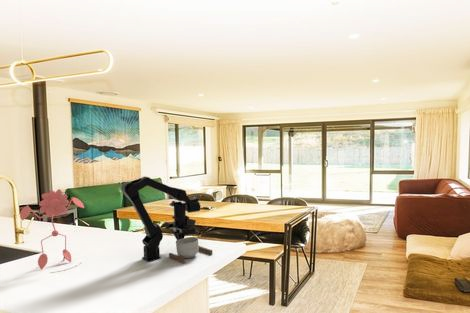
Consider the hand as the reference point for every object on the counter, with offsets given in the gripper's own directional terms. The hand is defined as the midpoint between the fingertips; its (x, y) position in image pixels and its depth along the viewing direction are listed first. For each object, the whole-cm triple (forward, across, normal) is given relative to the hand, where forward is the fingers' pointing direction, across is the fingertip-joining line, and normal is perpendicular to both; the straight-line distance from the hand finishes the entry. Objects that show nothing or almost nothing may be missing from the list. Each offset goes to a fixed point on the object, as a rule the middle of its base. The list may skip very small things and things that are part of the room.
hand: (180, 245), depth 172 cm
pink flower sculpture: (+4, +25, +50) cm, 56 cm away
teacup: (+4, -8, 0) cm, 8 cm away
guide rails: (+4, -8, 0) cm, 9 cm away
